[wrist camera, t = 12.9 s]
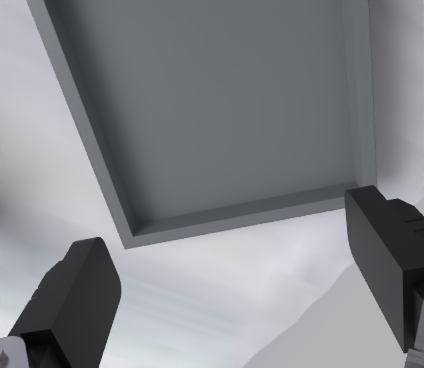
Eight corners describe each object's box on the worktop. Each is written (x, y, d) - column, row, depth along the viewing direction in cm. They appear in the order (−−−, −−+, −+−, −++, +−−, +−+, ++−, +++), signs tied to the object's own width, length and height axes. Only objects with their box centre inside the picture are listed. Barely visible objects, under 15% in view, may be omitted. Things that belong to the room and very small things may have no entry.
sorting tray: (37, -24, 25) (16, -26, 23) (345, -108, 23) (362, -121, 21) (132, 229, 34) (124, 249, 31) (364, 184, 32) (377, 201, 29)
